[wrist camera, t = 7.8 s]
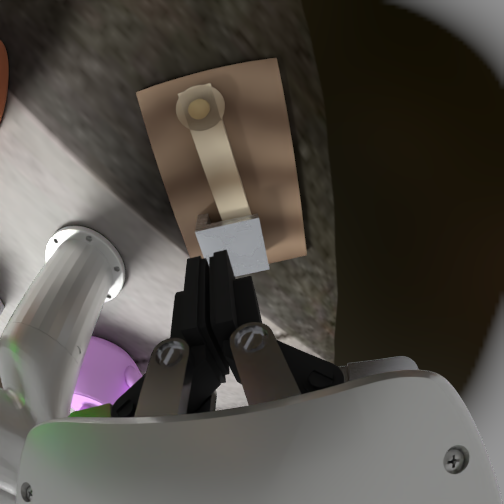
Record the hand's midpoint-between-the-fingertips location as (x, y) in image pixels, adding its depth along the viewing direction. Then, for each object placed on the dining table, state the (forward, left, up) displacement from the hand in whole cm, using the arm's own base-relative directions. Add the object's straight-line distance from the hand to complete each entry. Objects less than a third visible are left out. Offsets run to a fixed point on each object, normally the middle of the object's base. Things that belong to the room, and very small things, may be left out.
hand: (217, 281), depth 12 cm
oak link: (-1, -1, -19) cm, 19 cm away
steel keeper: (-7, -5, -20) cm, 22 cm away
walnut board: (-1, -2, -20) cm, 20 cm away
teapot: (-41, +3, -20) cm, 46 cm away
